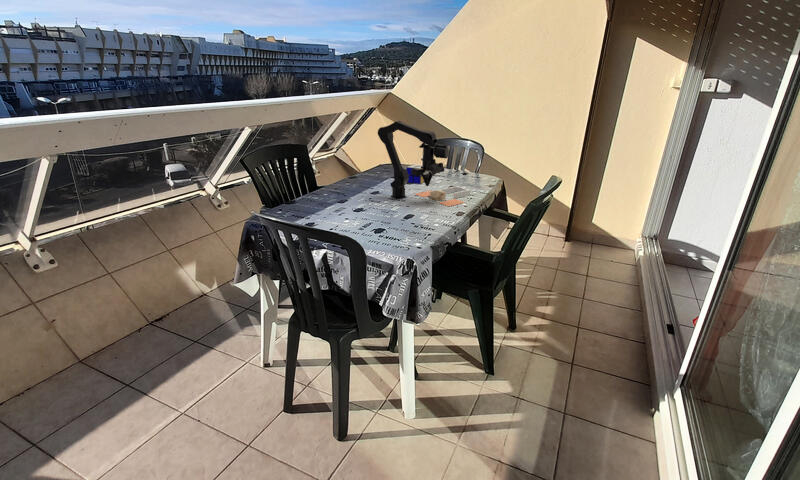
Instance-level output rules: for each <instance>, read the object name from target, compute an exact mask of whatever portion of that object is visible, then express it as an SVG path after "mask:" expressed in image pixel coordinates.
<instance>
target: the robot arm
mask: <svg viewBox="0 0 800 480" xmlns="http://www.w3.org/2000/svg"><path fill="white" fill-rule="evenodd" d="M396 131H400V132H402V133H405V134H407V135H410V136H412V137H414V138H416V139H417V140H418V141H419V142H420V143H421V144H420V145H419V149H422V158H420V161H421V162H422V165H423V166H421V168H423V169H419V168H413V169H412V170H411V174H413V175H416V176H420V175H421V176H422V178H423V180H424V183H425V186H426V187H429V186H430V184H431V180H432V178H433V176H435V175H436V174H440V173H443V172H445V167H444V163H443V162H438V163H437V161H436V159H435V158H437V159H438V158H439V159H445V160H446V159H448V158H449V155H450V150H449V147H448V145H449V144H440V143H439V141H438V139H437V135H436V133H435V132H434V131H431V130H423V129H419V128H417V127H414V126H412V125H409V124H407V123H404V122H403V121H401V120H397V121H394V122H392V123H391V124H389V125H386V126H381V127H379V128H378V130H377V136H378V137H379V140H380V141H381V142H382V143H383V145H384V146H385V149H386V151H387V155H388V157H389V160H390V163H391V166H392V168H393V178H394V180H392V181H391V183H390V188H392V189H391V190H392V191H391V193H392V195H390V197H391V198H393V197H394V199H397V200H399V199H400V200H401V199H404V198H407V196H406V189H405V188H406V184H407V181H408V180H409V174H408V172H407V168H404V167H403V166H402V162H401V160H400V157H399V154H398V151H397V148H396V145H395V143H394V132H396ZM425 170H426V171H425Z"/></svg>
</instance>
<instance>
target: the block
mask: <svg viewBox="0 0 800 480" xmlns="http://www.w3.org/2000/svg"><path fill="white" fill-rule="evenodd" d="M430 191H431V192H430V196H429V199H431V200H433V201H436V202H437V201H438V202H439V201H443V200H446V195H447V194H446V192H443V191H441V189H440V190H439V189H437V190H430Z"/></svg>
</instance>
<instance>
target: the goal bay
mask: <svg viewBox="0 0 800 480" xmlns="http://www.w3.org/2000/svg"><path fill="white" fill-rule="evenodd" d="M440 191H443V192H446V194H445V195H447V194H453V197H452V199H458V198H459V199H460V198H464V197H468V196H471V190H470V189H468V188H464V187H461V186H458V185H456V186H451V187H446V188H442V189H440Z"/></svg>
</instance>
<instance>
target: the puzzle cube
mask: <svg viewBox="0 0 800 480" xmlns="http://www.w3.org/2000/svg"><path fill="white" fill-rule="evenodd" d="M421 166H423V164H415V163H414V164H411V165H408V166H407V167H406V169H407V172H408V174H409V180H408V181H407V182H406V184H414V183H415V185H422V184H424V183H425V182H424V180H423V178H422V176H421V175H420V176H416V175H413V174H411V170H412V169H413V168H419V169H423V168H421ZM425 171H426V170H425Z"/></svg>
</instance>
